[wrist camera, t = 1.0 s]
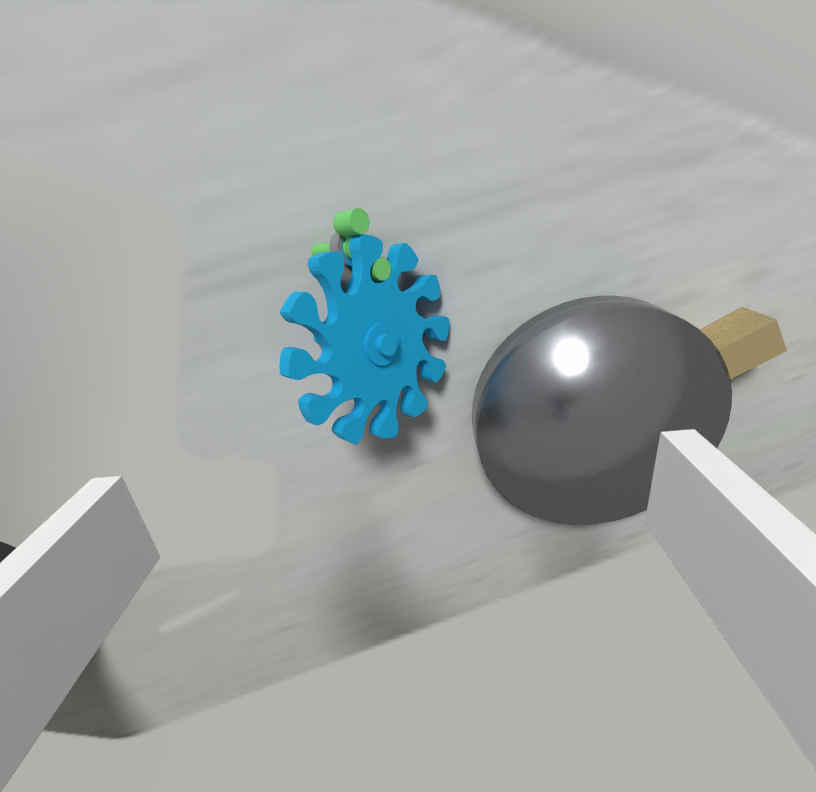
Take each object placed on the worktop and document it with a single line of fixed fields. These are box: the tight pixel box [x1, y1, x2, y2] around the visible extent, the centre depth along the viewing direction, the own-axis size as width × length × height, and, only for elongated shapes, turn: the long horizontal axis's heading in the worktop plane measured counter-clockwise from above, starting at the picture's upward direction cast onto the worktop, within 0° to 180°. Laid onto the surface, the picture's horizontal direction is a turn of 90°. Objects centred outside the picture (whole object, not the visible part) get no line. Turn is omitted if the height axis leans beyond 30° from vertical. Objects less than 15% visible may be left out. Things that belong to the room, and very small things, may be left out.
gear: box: [280, 208, 449, 445], centre depth 22 cm, size 11×6×10 cm
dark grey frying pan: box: [472, 296, 787, 524], centre depth 25 cm, size 17×14×2 cm
